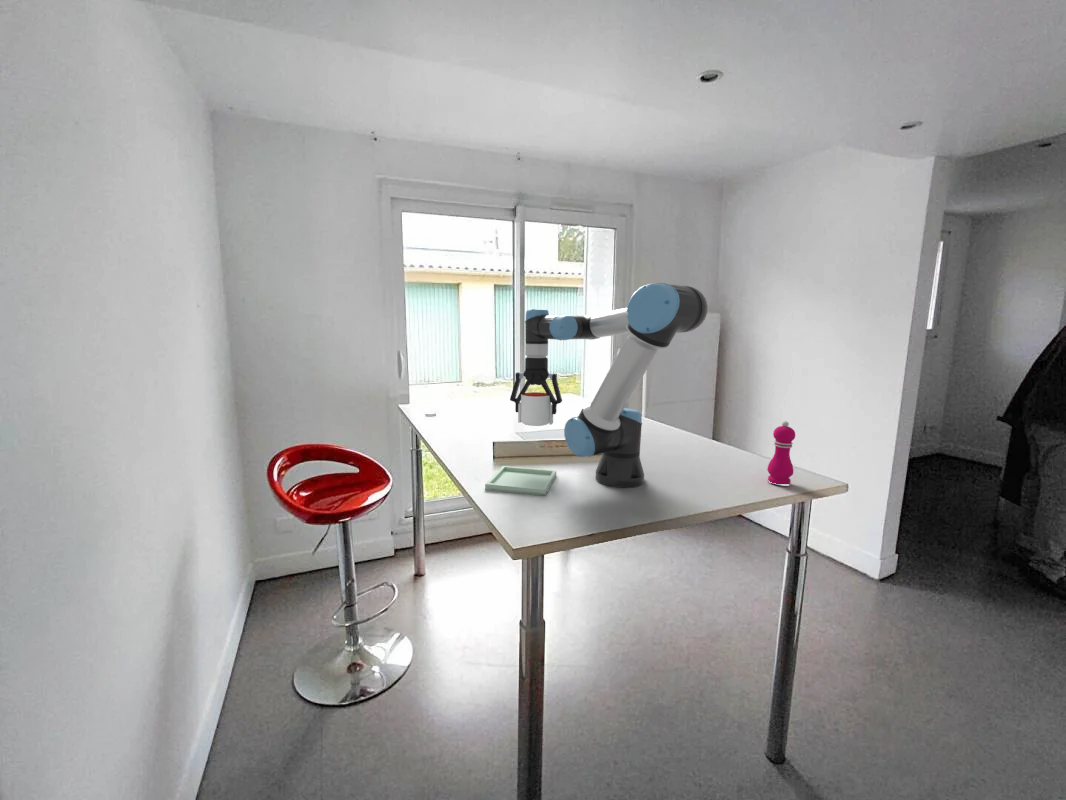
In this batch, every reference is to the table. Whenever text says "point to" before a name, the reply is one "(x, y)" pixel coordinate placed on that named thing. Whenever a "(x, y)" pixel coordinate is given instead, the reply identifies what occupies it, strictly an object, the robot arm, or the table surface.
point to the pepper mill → (781, 455)
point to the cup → (535, 409)
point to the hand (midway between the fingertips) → (535, 422)
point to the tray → (521, 480)
